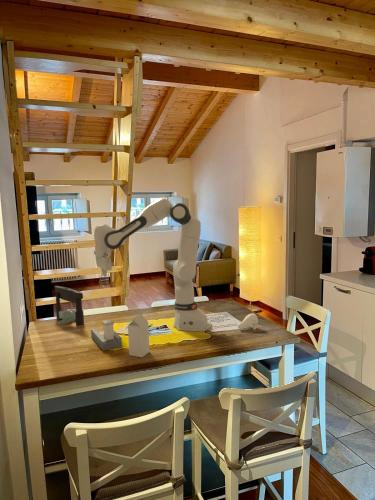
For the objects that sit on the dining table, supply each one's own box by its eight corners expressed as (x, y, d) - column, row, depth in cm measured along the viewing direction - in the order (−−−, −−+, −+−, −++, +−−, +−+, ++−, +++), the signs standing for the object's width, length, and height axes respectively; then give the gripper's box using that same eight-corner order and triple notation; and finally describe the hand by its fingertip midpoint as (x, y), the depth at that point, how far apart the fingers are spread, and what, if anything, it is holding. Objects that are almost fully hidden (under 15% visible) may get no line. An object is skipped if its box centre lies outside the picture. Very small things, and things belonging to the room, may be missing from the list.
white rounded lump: (258, 314, 200) (240, 319, 196) (260, 328, 201) (241, 334, 197) (252, 311, 206) (234, 316, 202) (254, 325, 207) (236, 330, 203)
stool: (65, 282, 240) (93, 289, 218) (67, 313, 242) (95, 322, 221) (43, 287, 228) (70, 294, 206) (45, 318, 231) (72, 329, 209)
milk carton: (149, 352, 174) (148, 314, 171) (141, 357, 167) (140, 318, 165) (137, 349, 177) (135, 312, 174) (129, 355, 170) (127, 317, 168)
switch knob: (103, 338, 185) (102, 320, 183) (112, 336, 187) (111, 319, 186) (105, 341, 180) (104, 323, 179) (115, 339, 183) (114, 321, 182)
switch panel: (91, 336, 196) (90, 329, 196) (109, 333, 201) (108, 325, 200) (102, 350, 177) (102, 341, 177) (122, 346, 182) (121, 337, 181)
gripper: (113, 253, 200) (115, 278, 202) (103, 250, 218) (105, 272, 220) (102, 254, 197) (104, 279, 199) (93, 251, 215) (94, 274, 217)
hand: (104, 276), depth 210 cm, fingers closed
